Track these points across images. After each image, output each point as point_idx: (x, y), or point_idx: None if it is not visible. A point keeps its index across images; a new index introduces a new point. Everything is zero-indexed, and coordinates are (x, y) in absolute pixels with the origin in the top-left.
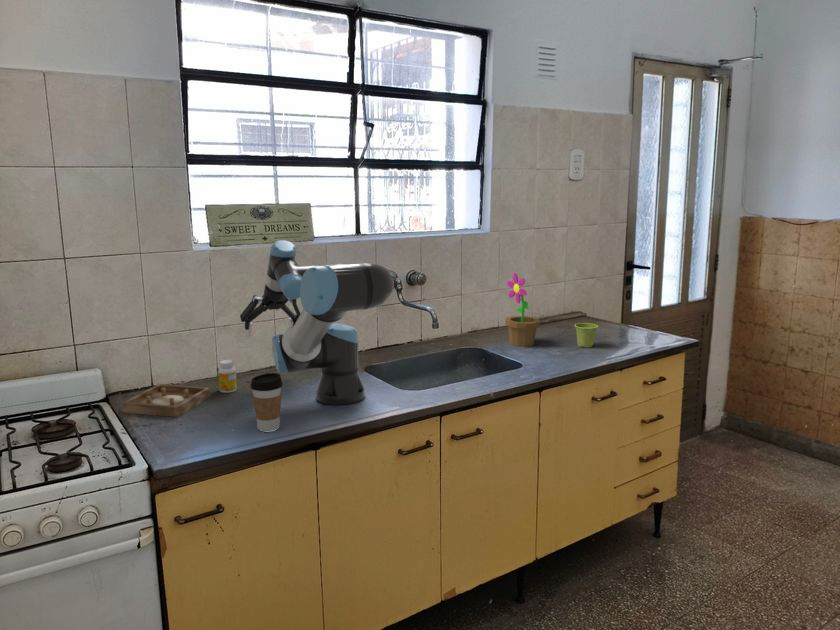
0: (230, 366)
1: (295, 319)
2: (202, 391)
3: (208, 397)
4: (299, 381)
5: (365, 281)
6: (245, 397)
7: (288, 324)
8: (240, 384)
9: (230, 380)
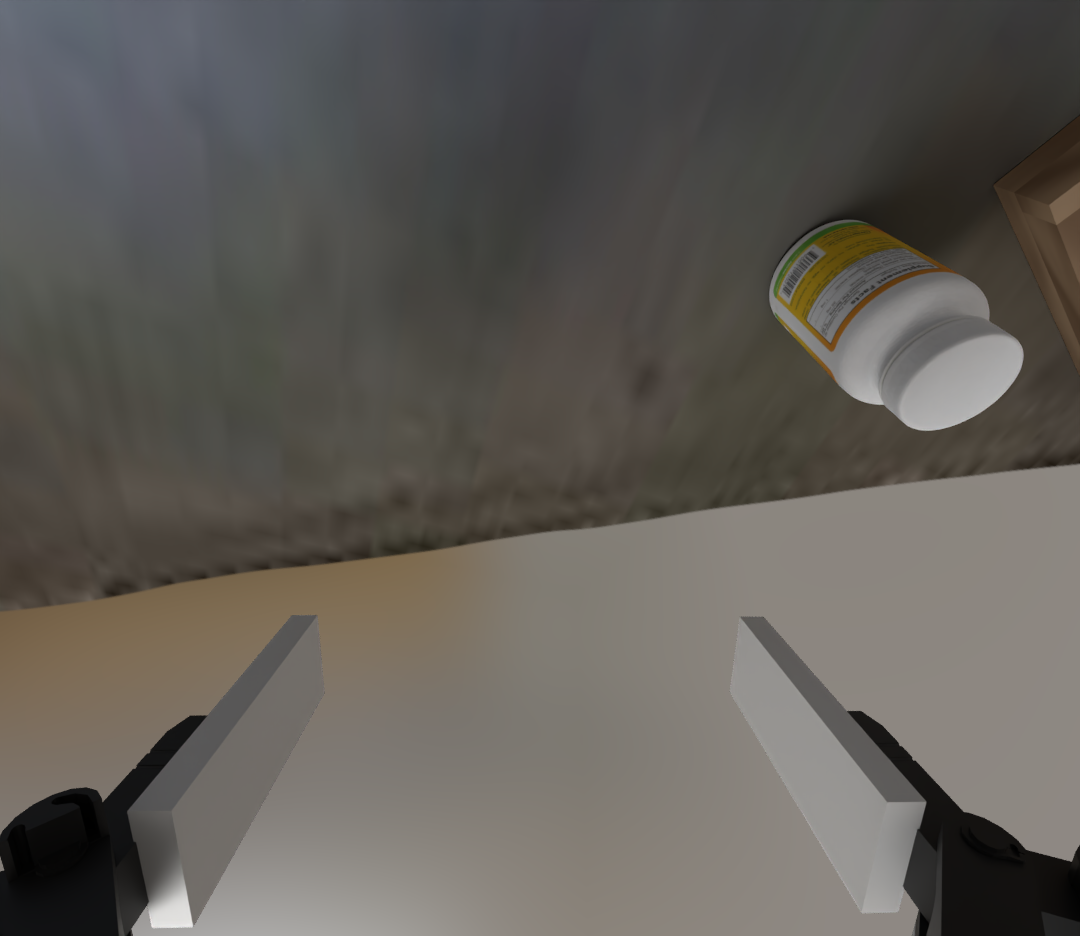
0: (942, 323)
1: (32, 884)
2: None
3: (1026, 162)
4: (320, 248)
5: None
6: (834, 15)
7: (261, 779)
8: (704, 355)
9: (890, 250)
